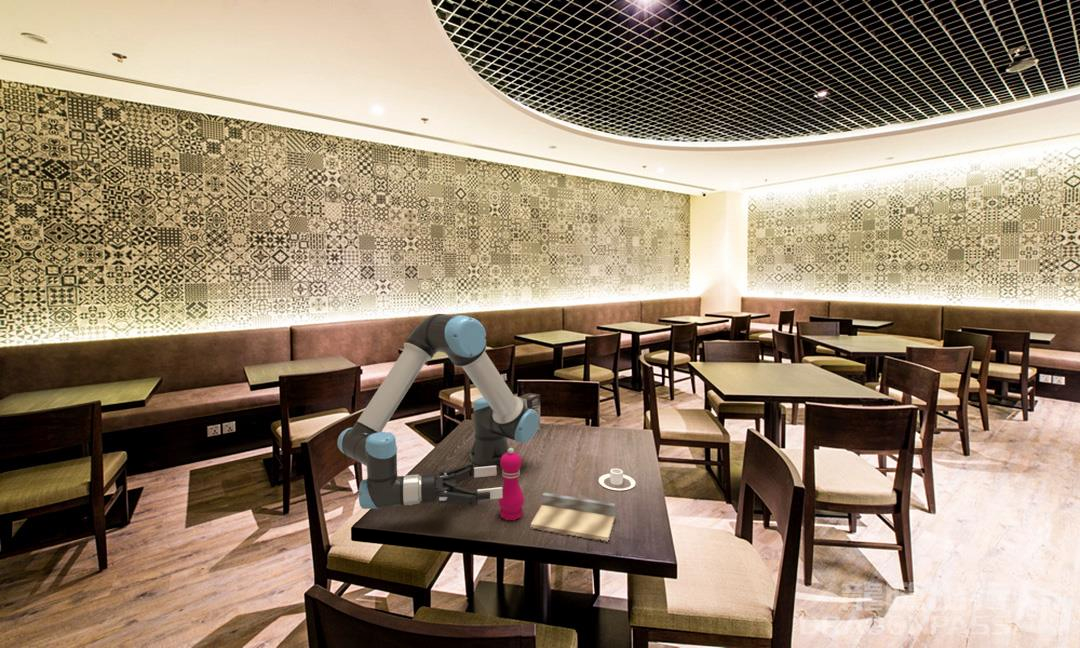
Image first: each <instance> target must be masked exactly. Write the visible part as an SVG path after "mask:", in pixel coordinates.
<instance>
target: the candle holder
mask: <svg viewBox="0 0 1080 648" xmlns="http://www.w3.org/2000/svg"><path fill="white" fill-rule="evenodd" d="M609 470H610V471H609V472H610V473H606V474H603V475H601V476H599V478H598V483H599V485H601V486H602V487H603V488H605V489H607V490H612V491H627V490H631V489H633V488H634V487H635V486H636V485H637V483H636V480H635V479H634V478H633V477H631V476H629V475H626V474H624V470H623V469H620V468H611V469H609ZM606 479H609V481H610V482H609V483H610V484H611V485H613V486H621V485H623V483H624V479H626V480H628V482H629V483H630V486H628V487H624V488H617V487H616V488H615V487H611V486H608V485H607V484H606V483H605V480H606Z"/></svg>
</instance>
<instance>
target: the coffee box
mask: <svg viewBox="0 0 1080 648" xmlns="http://www.w3.org/2000/svg"><path fill="white" fill-rule="evenodd" d="M518 397H519V398H521V400H522V401H523V402H524V404H525V406H526V407H527V408H528V409H533V410H534V411H536V412H537V413H538V416H539V425H538V429H537V432H539V431H541V394H538V393H531V392H527V393H526V394H522V395H520V396H518ZM538 430H539V431H538Z"/></svg>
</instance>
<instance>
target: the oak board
mask: <svg viewBox="0 0 1080 648" xmlns="http://www.w3.org/2000/svg"><path fill="white" fill-rule="evenodd" d="M615 519H616V503H613V502H608V501H601V500H597V499H596V500H594V499H588V498H581V497H575V496H569V495H563V494H555V493H549V492H542V495H541V506H540V508H539V510H538V511H537V512H536V514H535V515H534V517H533V519H532V521H531V523H530V528H531V527H533V528H539V529H544V530H549V531H555V532H560V533H565V534H571V535H576V536H582V537H588V538H594V539H601V540H606V541H608V540H609V541H610V538H611V535H610V534H611V533H612V531H613V527H614V524H615V521H616V520H615ZM613 523H614V524H613ZM611 530H612V531H611ZM609 537H610V538H609Z"/></svg>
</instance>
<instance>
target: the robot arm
mask: <svg viewBox="0 0 1080 648" xmlns="http://www.w3.org/2000/svg"><path fill="white" fill-rule="evenodd" d="M486 337H487V331H486V329H485V328H484V325H483V324H482V323H481V322H480V321H479V320H477V318H473V317H470V316H468V315H461V314H460V315H454V314H453V315H452V314H444V313H434V314H432V315H430V316H428V317H426V318H424V319H423V320H422V321H421V322H420V323H418V325H417V326H416V327H415V328H413V330H412V332H410V334H409V336H408V337H407V339H405V342H404V343H403V351H402V352H401V353H400V355H399V357H398V358H397V359H396V360H395V363H394V364H393V366H392V367H391V369H390V370H389V371H388V373H387V375H386V376H385V378H384V379H383V381H382V382H381V383H380V386H379V387H378V389H377V391H375V393H374V395H373V396H372V397H371V400H370V401H369V403H368V404H367V405H366V407H365V408H364V410H363V411H362V413H361V414H360V416H359V418H358V419H357V420H356V422H355V423H354V425H353V426H352V427H347V428H345V429H344V430H343V431H341V433H340V434H339V436H338V438H337V442H336V443H337V448H338V449H339V451H340V452H341V453H343V454H344V455H345V456H346V457H348V458H351V459H353V460H355V461H357V462H358V463H360V464H362V465H363V466H366V474H367V477H366V478H365V479H362V480H361V481H360V483H359V487H358V503H359V506H360V508H361V509H363V510H369V509H377V510H378V509H383V508H391V507H398V506H412V505H417V504H420V503H422V504H430V503H435V502H436V501H437V497H438V504H454V505H460V506H466V507H467V506H468V507H476V506H478V505H479V501H488V500H489V501H490V500H497V499H498V500H499V498H503V497H502V488H503V487H502V486H499V487H492V488H491V487H490V488H483V489H482V488H478V489H477V490H476V491H475V490H472V489H468V488H464V487H461V486H458V484H460V483H462V482H464V481H467V480H468V479H470V478H472V477H474V478H475V479H476V478H482V477H493V476H497V466H498V465H500V460H501V457H502V456H503V455H504V454H505V453H508V449H509V448H510V445H509V443H508V440H507V439H509V440H512V441H515V442H517V443H522V444H523V443H528V442H529V441H531V440H532V439H533V438H534V437H535V436H536V434H537V432H538V431H537V429H538V425H539V416H538V413H537V412H536V411H534V410H533V409H528V408H527V407H526V406H525V404H524V402H523V401H522V400H521V398H519V397H520V396H516V395H514V394H513V393H512V392H513V391H512V390H511V389H510V387H509V386H508V384H507V383H506V381H505V380H504V378H503V377H502V376H501V374H500V372H499V371H498V369H497V367H496V366H495V364H494V362H493V361H492V360H491V359H490V357H489V355H488V354H487V352H486V350H487V339H486ZM438 352H439V353H444V354H445V355H447V358H449V360H450V361H451V363H452V365H454V366H456V367H457V368H462V369H463V371H465V374H466V375H467V376H468V377H469V379H470V380H471V382H472V383H473V385H474V386H475V388H476V389H477V391H479V393H480V395H481V396H482V397H479V398H477V399H475V401H474V402H473V409H472V410H473V411H472V412H473V432H474V433H473V434H474V439H473V442H472V445H471V449H470V451H469V452H470V453H469V459H470V461H471V462H472V463H471V464H466V465H463V466H458V467H456V468H452V469H448V470H444V471H443V470H442V471H439V474H438V475H439V477H437V475H436V473H434V472H432V473H422V475H420V474H419V473H418V474H417V473H416V474H408V475H398V458H397V457H398V455H397V454H398V453H397V452H398V447H397V440H396V436H395V434H393V433H392V432H389V431H388V432H386V431H383V430H384V428H386V425H387V424H388V422H389V421H390V420H391V417H392V416H393V415H394V413H395V411H396V410H397V408H398V406H399V405H400V403H401V402H402V400H403V399H404V397H405V395H406V394H407V392H408V391H409V389H410V388H411V386H412V385H413V383H414V381H415V380H416V379H417V376H419V373H420V372H421V371H422V368H423V367H424V365H425V364H426V363H427V362H429V361H431V360H432V358H433V357H434V356H435V354H436V353H438ZM474 465H479V466H476V467H474Z"/></svg>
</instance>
